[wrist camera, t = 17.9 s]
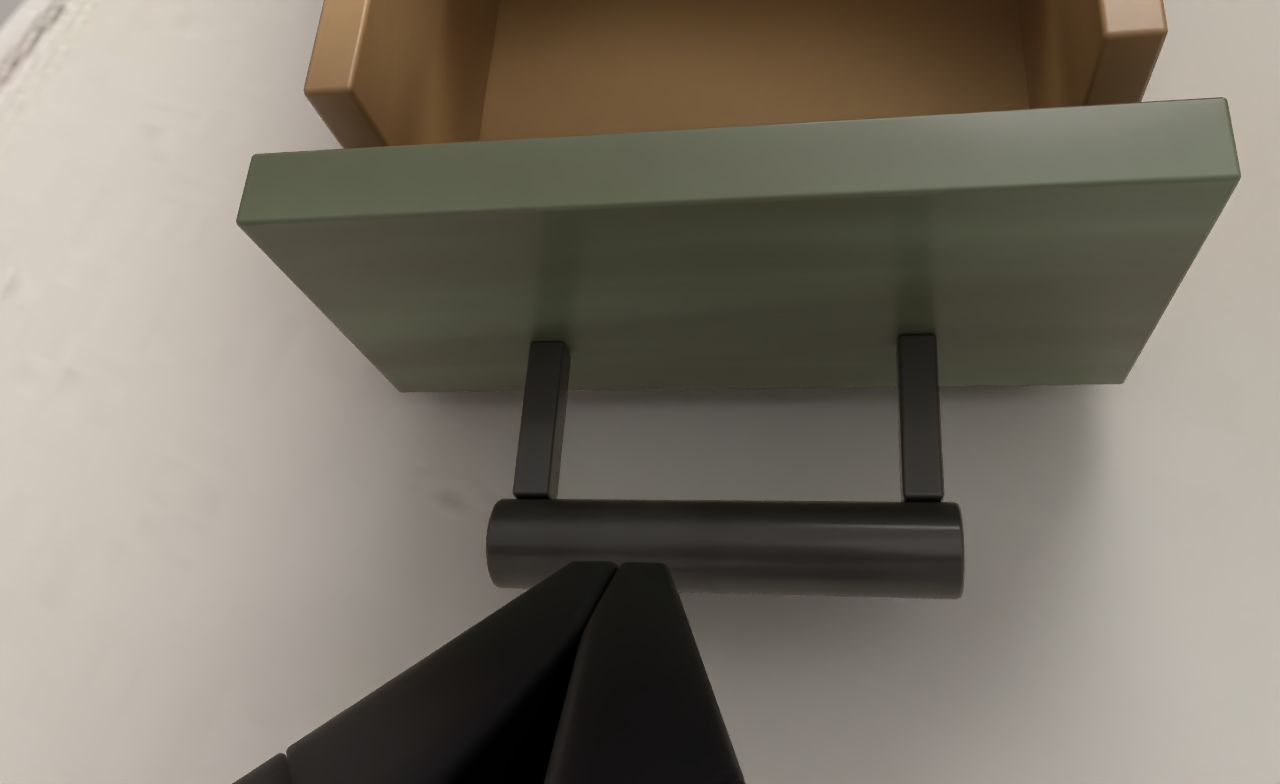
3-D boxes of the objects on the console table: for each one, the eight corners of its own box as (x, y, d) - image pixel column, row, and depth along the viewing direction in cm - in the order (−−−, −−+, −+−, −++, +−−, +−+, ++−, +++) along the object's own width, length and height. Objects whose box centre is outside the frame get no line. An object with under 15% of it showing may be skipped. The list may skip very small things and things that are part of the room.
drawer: (1154, 630, 16) (1306, 516, 11) (364, 607, 19) (162, 504, 13) (1051, -210, 24) (1113, -536, 18) (488, -147, 26) (391, -416, 20)
